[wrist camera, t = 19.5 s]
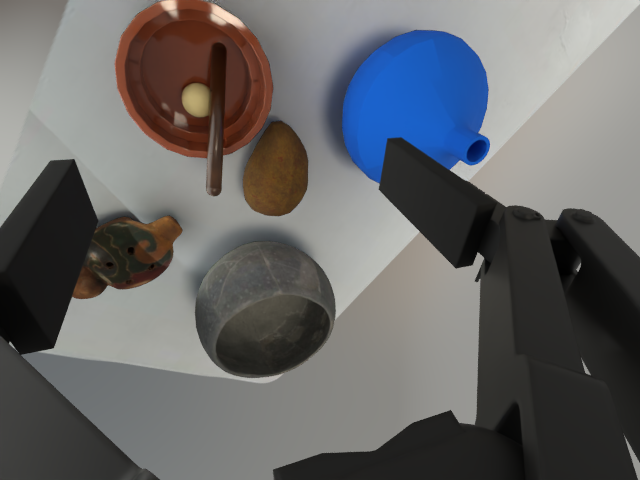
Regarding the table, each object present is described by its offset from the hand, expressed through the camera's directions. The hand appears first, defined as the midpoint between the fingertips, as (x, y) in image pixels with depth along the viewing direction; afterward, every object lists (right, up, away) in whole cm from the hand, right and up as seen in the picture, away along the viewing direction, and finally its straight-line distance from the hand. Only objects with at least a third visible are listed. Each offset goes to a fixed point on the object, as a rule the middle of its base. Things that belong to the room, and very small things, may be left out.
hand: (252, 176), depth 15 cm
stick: (-8, +19, +22) cm, 30 cm away
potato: (-4, +8, +33) cm, 34 cm away
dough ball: (-11, +13, +23) cm, 29 cm away
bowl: (-8, -8, +43) cm, 44 cm away
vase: (+12, +17, +33) cm, 39 cm away
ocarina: (-23, -2, +33) cm, 40 cm away
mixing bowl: (-11, +16, +24) cm, 31 cm away
